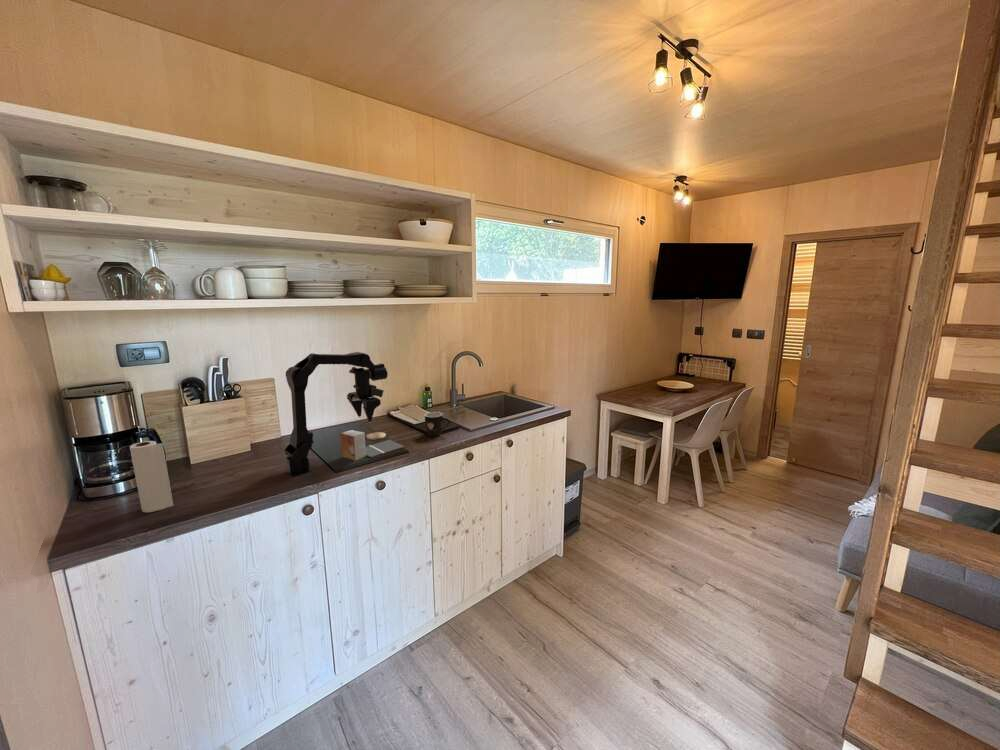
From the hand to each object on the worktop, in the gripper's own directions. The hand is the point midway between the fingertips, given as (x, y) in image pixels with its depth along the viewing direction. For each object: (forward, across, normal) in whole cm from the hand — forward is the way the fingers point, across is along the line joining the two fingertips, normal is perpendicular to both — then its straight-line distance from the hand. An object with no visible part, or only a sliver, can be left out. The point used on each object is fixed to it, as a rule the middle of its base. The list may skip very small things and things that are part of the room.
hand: (364, 418), depth 168 cm
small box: (+15, -2, +6) cm, 16 cm away
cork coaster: (+14, +14, -12) cm, 23 cm away
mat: (+15, -2, -6) cm, 16 cm away
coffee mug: (+15, -4, -33) cm, 36 cm away
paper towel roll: (+15, +3, +69) cm, 71 cm away
